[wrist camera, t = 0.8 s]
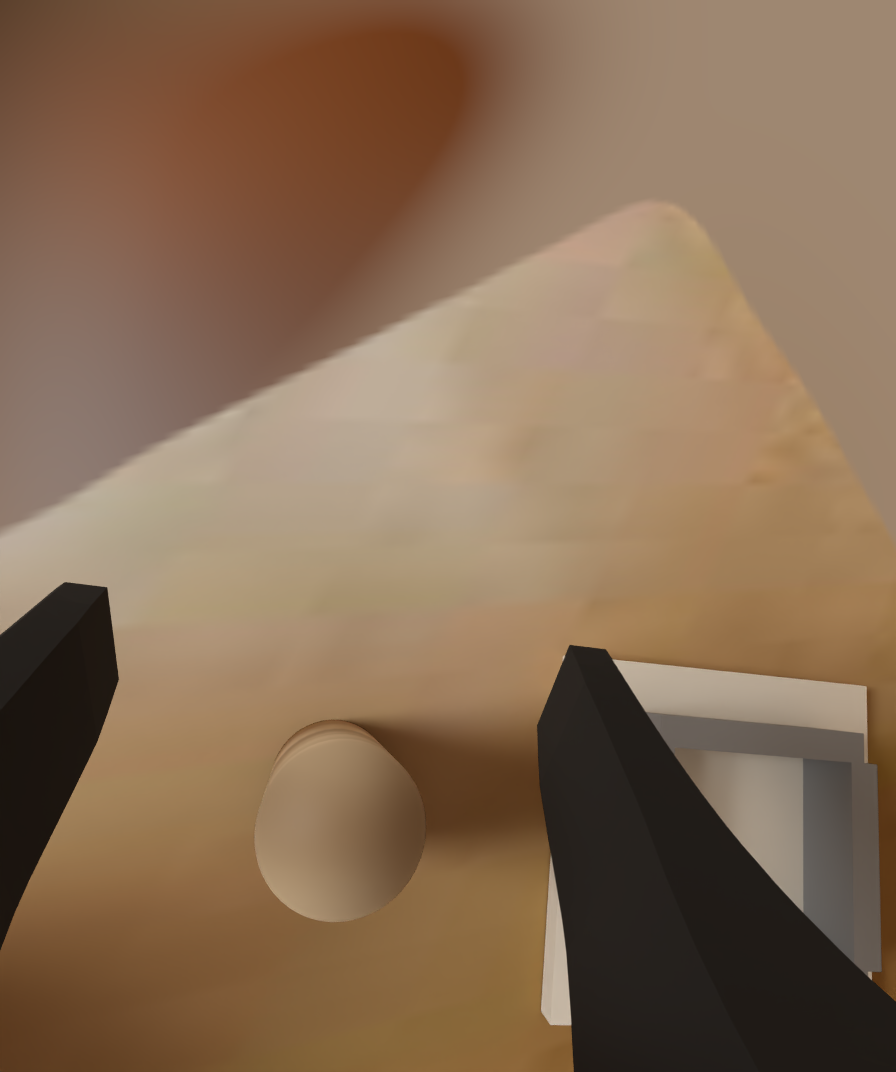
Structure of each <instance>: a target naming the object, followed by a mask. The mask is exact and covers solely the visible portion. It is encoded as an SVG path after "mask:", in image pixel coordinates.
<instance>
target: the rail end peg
mask: <svg viewBox="0 0 896 1072" xmlns="http://www.w3.org/2000/svg"><path fill="white" fill-rule="evenodd" d="M425 836H426V818H425V810H424V805H423V801H422V798H421V795H420V793H419V790H418V788H417V786H416V784H415V782H414V781H413V779H412V778H411V776H410V775H409V773H408V772H407V771H406V770H405V769H404V768H403V766H402V765H401V764H400V763H399V762H398V761H397V760H396V759H395V758H394V757H393V756H392V755H391V754H390V753H389V752H388V751H387V750H386V749H385V748H384V747H383V746H382V745H381V744H380V743H379V742H378V741H377V740H376V739H375V738H374V737H373V736H372V735H371V734H369V733H368V732H367V731H366V730H364V729H363V728H361V727H360V726H357V725H355V724H353V723H350V722H346V721H341V720H325V721H320V722H316V723H313V724H310V725H308V726H306V727H304V728H302V729H301V730H299V731H298V732H296V733H295V734H294V735H293V736H292V737H291V738H290V739H289V740H288V741H287V742H286V743H285V744H284V745H283V747H282V748H281V750H280V752H279V753H278V755H277V757H276V760H275V762H274V765H273V768H272V771H271V774H270V777H269V780H268V783H267V786H266V789H265V792H264V796H263V799H262V802H261V805H260V808H259V811H258V814H257V819H256V824H255V835H254V840H255V852H256V857H257V862H258V865H259V868H260V871H261V873H262V875H263V877H264V879H265V881H266V883H267V885H268V886H269V888H270V889H271V891H272V892H273V893H274V894H275V895H276V896H277V898H278V899H279V900H280V901H281V902H283V903H284V904H285V905H286V906H287V907H289V908H290V909H292V910H294V911H295V912H297V913H298V914H301V915H303V916H306V917H308V918H311V919H315V920H319V921H326V922H344V921H350V920H355V919H358V918H362V917H365V916H367V915H369V914H371V913H374V912H376V911H377V910H379V909H381V908H382V907H384V906H385V905H387V904H388V903H389V902H390V901H391V900H393V899H394V898H395V897H396V896H397V895H398V894H399V893H400V892H401V891H402V890H403V889H404V887H405V886H406V884H407V883H408V882H409V880H410V879H411V877H412V875H413V874H414V872H415V870H416V868H417V866H418V863H419V861H420V859H421V855H422V852H423V848H424V843H425Z"/></svg>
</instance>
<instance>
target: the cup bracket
mask: <svg viewBox="0 0 896 1072" xmlns="http://www.w3.org/2000/svg"><path fill="white" fill-rule="evenodd" d="M564 658H565V656H563V660H564ZM612 660H613V659H612ZM613 661H614V663H615V664H616V666H617V667H618V669H619V671H620V672H621V674H622V675H623V677H624V679H625V680H626V682H627V683H628V685H629V686H630V688H631V690H632V691H633V693H634V694H635V696H636V698H637V699H638V701H639V702H640V704H641V705H642V707H643V708H644V710H645V712H646V713H647V715H648V716H649V718H650V719H651V721H652V722H653V724H654V725H655V727H656V728H657V730H658V731H659V733H660V734H661V736H662V737H663V739H664V740H665V742H666V743H667V745H668V746H669V748H670V749H671V751H672V752H673V753H674V755H675V756H676V758H677V759H678V761H679V762H680V764H681V765H682V766H683V768H684V769H685V771H686V772H687V774H688V775H689V776H690V778H691V779H692V781H693V782H694V783H695V785H696V786H697V787H698V789H699V790H700V792H701V793H702V794H703V796H704V797H705V798H706V800H707V801H708V802H709V803H710V805H711V806H712V807H713V809H714V810H715V811H716V813H717V814H718V815H719V817H720V818H721V819H722V820H723V822H724V823H725V824H726V826H727V827H728V828H729V829H730V830H731V832H732V833H733V834H734V835H735V837H736V838H737V839H738V840H739V841H740V843H741V844H742V845H743V846H744V847H745V849H746V850H747V851H748V852H749V853H750V854H751V855H752V857H753V858H754V859H755V860H756V861H757V862H758V863H759V865H760V866H761V867H762V868H763V869H764V870H765V871H766V873H767V874H768V875H769V876H770V877H771V878H772V880H773V881H774V882H775V883H776V884H777V885H778V886H779V887H780V888H781V890H782V891H783V892H784V893H785V894H786V895H787V896H788V897H789V898H790V899H791V900H792V901H793V902H794V903H795V905H796V906H797V907H798V908H799V909H800V910H801V911H802V912H803V913H804V914H805V915H806V916H807V917H808V918H809V919H810V920H811V921H812V922H813V923H814V924H815V925H816V926H817V927H818V928H819V929H820V930H821V931H822V932H823V933H824V934H825V935H826V936H827V937H828V938H829V939H830V940H831V941H832V942H833V943H834V944H835V945H836V946H837V947H838V948H839V949H840V950H841V951H842V952H843V953H844V954H845V955H846V956H847V957H848V958H849V959H850V960H851V961H852V962H853V963H854V964H855V965H856V966H857V967H858V968H860V969H861V970H862V971H863V972H864V973H865V974H866V975H867V976H868V977H869V978H870V979H871V980H872V972H882V966H881V918H880V870H879V823H878V775H877V765H876V764H870V763H868V741H867V687H866V686H860V685H850V684H841V683H831V682H822V681H812V680H803V679H793V678H784V677H774V676H765V675H755V674H746V673H736V672H727V671H717V670H708V669H698V668H689V667H679V666H670V665H660V664H651V663H641V662H632V661H622V660H613ZM541 1012H542V1013H543V1015H544V1016H545V1018H546V1019H547V1021H548V1022H549V1023H550V1025H571V1011H570V997H569V983H568V970H567V956H566V947H565V939H564V931H563V923H562V917H561V911H560V905H559V899H558V893H557V887H556V881H555V875H554V869H553V863H552V857H551V858H550V874H549V890H548V906H547V922H546V938H545V954H544V970H543V986H542V1002H541Z"/></svg>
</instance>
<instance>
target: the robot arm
mask: <svg viewBox="0 0 896 1072" xmlns="http://www.w3.org/2000/svg"><path fill="white" fill-rule="evenodd" d="M118 680H119V677H118V669H117V662H116V654H115V646H114V638H113V630H112V622H111V614H110V606H109V598H108V590H107V587H100V586H92V585H84V584H75V583H67V582H65V583H63V584H62V585H60V586H59V587H57V588H56V589H55V590H54V591H53V592H51V593H50V594H49V595H48V596H46V597H45V598H44V599H43V600H42V601H40V602H39V603H38V604H37V605H36V606H34V607H33V608H32V609H31V610H30V611H28V612H27V613H26V614H25V615H24V616H23V617H21V618H20V619H19V620H18V621H17V622H15V623H14V624H13V625H12V626H11V627H9V628H8V629H7V630H6V631H4V632H3V633H2V634H1V635H0V950H1V947H2V944H3V942H4V939H5V936H6V934H7V931H8V929H9V926H10V923H11V921H12V918H13V916H14V913H15V911H16V908H17V906H18V904H19V902H20V899H21V897H22V895H23V893H24V891H25V888H26V886H27V884H28V882H29V879H30V877H31V875H32V873H33V871H34V869H35V867H36V865H37V863H38V861H39V859H40V857H41V855H42V853H43V851H44V849H45V847H46V845H47V843H48V841H49V839H50V837H51V835H52V833H53V831H54V829H55V827H56V825H57V823H58V821H59V819H60V817H61V815H62V813H63V811H64V809H65V807H66V805H67V803H68V801H69V799H70V797H71V795H72V793H73V791H74V789H75V787H76V784H77V782H78V780H79V778H80V776H81V774H82V772H83V770H84V768H85V766H86V764H87V762H88V760H89V758H90V756H91V754H92V752H93V749H94V747H95V745H96V743H97V741H98V738H99V735H100V733H101V730H102V727H103V724H104V722H105V719H106V716H107V713H108V710H109V707H110V704H111V701H112V698H113V695H114V692H115V689H116V686H117V683H118ZM537 733H538V761H539V779H540V790H541V796H542V803H543V809H544V815H545V821H546V827H547V834H548V840H549V845H550V851H551V857H552V863H553V869H554V875H555V881H556V887H557V893H558V899H559V905H560V911H561V917H562V923H563V931H564V939H565V947H566V956H567V970H568V983H569V997H570V1011H571V1027H572V1045H573V1063H574V1072H896V1002H895V1001H894V1000H893V999H892V998H891V997H890V996H889V995H888V994H887V993H885V992H884V991H883V990H882V989H881V988H880V987H879V986H878V985H877V984H876V983H874V982H873V981H872V980H871V979H870V978H869V977H868V976H867V975H866V974H865V973H864V972H863V971H862V970H861V969H860V968H858V967H857V966H856V965H855V964H854V963H853V962H852V961H851V960H850V959H849V958H848V957H847V956H846V955H845V954H844V953H843V952H842V951H841V950H840V949H839V948H838V947H837V946H836V945H835V944H834V943H833V942H832V941H831V940H830V939H829V938H828V937H827V936H826V935H825V934H824V933H823V932H822V931H821V930H820V929H819V928H818V927H817V926H816V925H815V924H814V923H813V922H812V921H811V920H810V919H809V918H808V917H807V916H806V915H805V914H804V913H803V912H802V911H801V910H800V909H799V908H798V907H797V906H796V905H795V903H794V902H793V901H792V900H791V899H790V898H789V897H788V896H787V895H786V894H785V893H784V892H783V891H782V890H781V888H780V887H779V886H778V885H777V884H776V883H775V882H774V881H773V880H772V878H771V877H770V876H769V875H768V874H767V873H766V871H765V870H764V869H763V868H762V867H761V866H760V865H759V863H758V862H757V861H756V860H755V859H754V858H753V857H752V855H751V854H750V853H749V852H748V851H747V850H746V849H745V847H744V846H743V845H742V844H741V843H740V841H739V840H738V839H737V838H736V837H735V835H734V834H733V833H732V832H731V830H730V829H729V828H728V827H727V826H726V824H725V823H724V822H723V820H722V819H721V818H720V817H719V815H718V814H717V813H716V811H715V810H714V809H713V807H712V806H711V805H710V803H709V802H708V801H707V800H706V798H705V797H704V796H703V794H702V793H701V792H700V790H699V789H698V787H697V786H696V785H695V783H694V782H693V781H692V779H691V778H690V776H689V775H688V774H687V772H686V771H685V769H684V768H683V766H682V765H681V764H680V762H679V761H678V759H677V758H676V756H675V755H674V753H673V752H672V751H671V749H670V748H669V746H668V745H667V743H666V742H665V740H664V739H663V737H662V736H661V734H660V733H659V731H658V730H657V728H656V727H655V725H654V724H653V722H652V721H651V719H650V718H649V716H648V715H647V713H646V712H645V710H644V708H643V707H642V705H641V704H640V702H639V701H638V699H637V698H636V696H635V694H634V693H633V691H632V690H631V688H630V686H629V685H628V683H627V682H626V680H625V679H624V677H623V675H622V674H621V672H620V671H619V669H618V667H617V666H616V664H615V663H614V661H613V660H612V658H611V657H610V655H609V654H608V652H607V651H606V649H598V648H590V647H582V646H574V645H569V648H568V650H567V653H566V655H565V658H564V660H563V663H562V665H561V668H560V670H559V673H558V675H557V678H556V680H555V683H554V685H553V688H552V690H551V693H550V695H549V698H548V700H547V703H546V705H545V708H544V710H543V712H542V715H541V717H540V720H539V722H538V725H537Z"/></svg>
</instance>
